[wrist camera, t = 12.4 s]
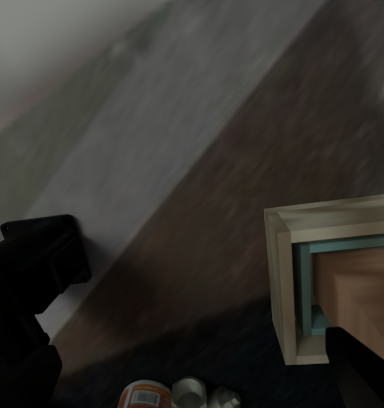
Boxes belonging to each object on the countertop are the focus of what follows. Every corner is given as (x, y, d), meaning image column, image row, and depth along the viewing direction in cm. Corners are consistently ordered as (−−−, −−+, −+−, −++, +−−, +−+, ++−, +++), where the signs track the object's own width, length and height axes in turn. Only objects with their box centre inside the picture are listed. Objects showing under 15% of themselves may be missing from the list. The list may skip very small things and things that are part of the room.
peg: (313, 294, 21) (380, 412, 13) (311, 246, 20) (387, 342, 11) (371, 289, 21) (483, 409, 12) (374, 239, 19) (502, 335, 11)
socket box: (272, 320, 23) (286, 365, 19) (263, 208, 20) (277, 232, 16) (402, 311, 22) (447, 357, 18) (415, 190, 19) (474, 211, 15)
